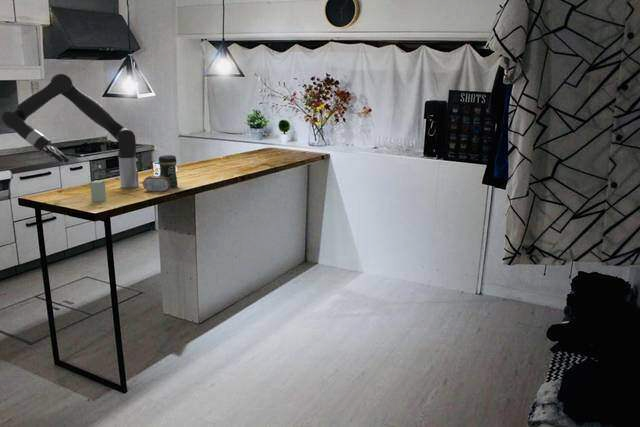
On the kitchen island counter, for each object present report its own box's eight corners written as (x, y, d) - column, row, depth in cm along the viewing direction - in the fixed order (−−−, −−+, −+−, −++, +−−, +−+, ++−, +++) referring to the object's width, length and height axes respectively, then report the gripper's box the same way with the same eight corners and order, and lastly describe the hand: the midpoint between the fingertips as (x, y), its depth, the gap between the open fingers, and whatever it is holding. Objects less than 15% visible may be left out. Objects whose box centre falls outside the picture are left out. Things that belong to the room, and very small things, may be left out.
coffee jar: (165, 189, 302) (163, 157, 297) (157, 187, 307) (155, 155, 302) (180, 187, 309) (178, 155, 304) (172, 184, 314) (170, 153, 309)
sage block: (97, 199, 274) (95, 180, 271) (106, 199, 274) (104, 180, 271) (92, 201, 269) (90, 182, 267) (101, 202, 269) (99, 182, 266)
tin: (171, 190, 299) (170, 176, 297) (170, 192, 296) (169, 177, 294) (144, 190, 299) (143, 175, 297) (143, 191, 296) (141, 177, 294)
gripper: (37, 134, 262) (65, 154, 264) (48, 136, 276) (74, 156, 278) (28, 145, 262) (55, 166, 264) (39, 147, 276) (65, 167, 278)
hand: (65, 161), depth 271 cm, fingers open, 8 cm apart
